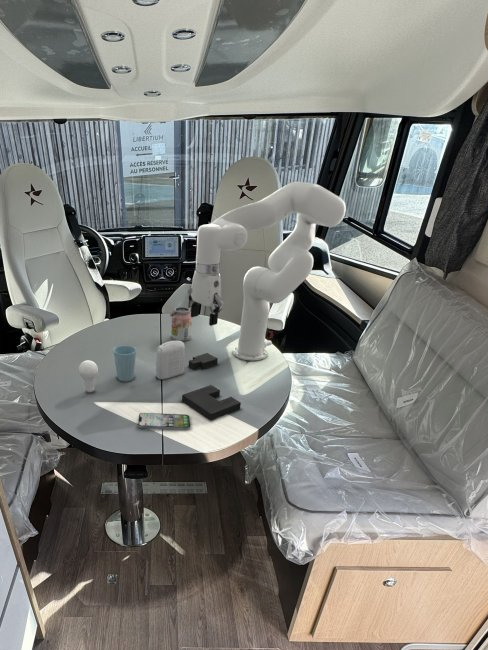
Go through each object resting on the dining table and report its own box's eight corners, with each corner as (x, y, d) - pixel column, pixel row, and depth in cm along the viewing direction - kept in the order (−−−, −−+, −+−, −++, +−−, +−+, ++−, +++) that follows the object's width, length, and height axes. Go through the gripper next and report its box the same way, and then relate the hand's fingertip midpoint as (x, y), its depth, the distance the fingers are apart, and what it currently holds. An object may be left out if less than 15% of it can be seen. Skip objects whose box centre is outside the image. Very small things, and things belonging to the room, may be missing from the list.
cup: (138, 373, 156) (137, 345, 150) (134, 383, 150) (134, 355, 144) (117, 372, 157) (115, 344, 151) (113, 382, 151) (111, 353, 145)
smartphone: (190, 428, 126) (138, 426, 126) (190, 431, 127) (138, 429, 127) (189, 414, 132) (139, 412, 132) (188, 417, 133) (139, 415, 133)
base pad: (210, 391, 146) (210, 384, 144) (240, 409, 136) (241, 402, 135) (181, 401, 140) (182, 394, 139) (210, 421, 131) (211, 414, 129)
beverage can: (166, 335, 185) (167, 306, 178) (184, 332, 187) (185, 304, 180) (176, 343, 178) (177, 314, 171) (194, 340, 181) (196, 311, 174)
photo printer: (178, 369, 159) (179, 336, 152) (185, 373, 156) (187, 340, 149) (154, 376, 154) (154, 343, 147) (161, 381, 151) (161, 347, 144)
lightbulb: (102, 389, 147) (100, 358, 140) (94, 397, 142) (92, 366, 135) (85, 386, 148) (83, 355, 142) (77, 394, 144) (74, 363, 137)
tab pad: (206, 358, 166) (207, 352, 165) (217, 364, 162) (217, 358, 161) (185, 365, 161) (186, 359, 160) (196, 371, 157) (196, 365, 156)
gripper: (234, 272, 137) (229, 325, 147) (198, 261, 148) (196, 311, 159) (216, 276, 133) (212, 330, 144) (181, 264, 145) (179, 315, 155)
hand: (203, 320), depth 151 cm, fingers open, 9 cm apart
